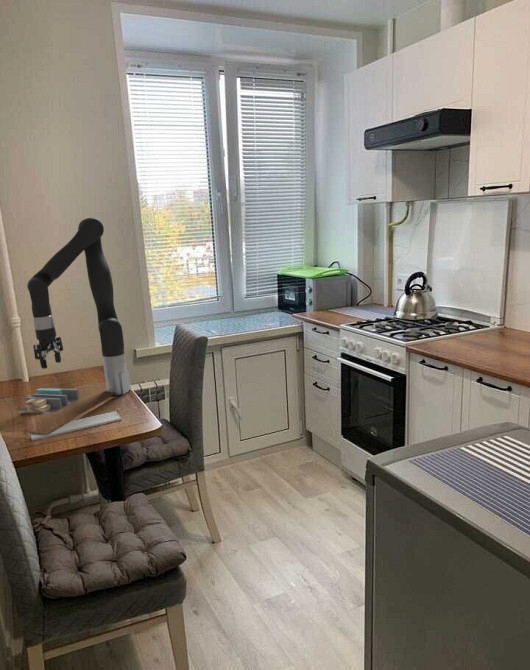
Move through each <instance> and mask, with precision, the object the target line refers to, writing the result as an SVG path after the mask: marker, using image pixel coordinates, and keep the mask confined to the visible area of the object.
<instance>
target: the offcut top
mask: <svg viewBox="0 0 530 670" xmlns="http://www.w3.org/2000/svg"><path fill="white" fill-rule="evenodd" d="M46 404H47V401H46V399H30V400H28V401H26V400H25V401H24V407H25V408H27V407H37V408H41V407H42V406H44V405H46Z"/></svg>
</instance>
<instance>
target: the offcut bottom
mask: <svg viewBox="0 0 530 670" xmlns="http://www.w3.org/2000/svg"><path fill="white" fill-rule="evenodd" d="M26 408H27V412H41V413H44V412H46V411H48V410H50V409H51V406H50V404H46V405H44V406H42V407H41V408H37V407H26Z"/></svg>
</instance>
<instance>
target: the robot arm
mask: <svg viewBox="0 0 530 670" xmlns="http://www.w3.org/2000/svg"><path fill="white" fill-rule="evenodd" d="M104 231H105V229H104V224H103V223H102V221H101V220H99V219H98V218H95V217H88V218H84V219H82V220H81V221H80V222H79V223H78V228H77V232H75V235H74V236H73V237H72V238H71V239H70V240H69V241H68V242H67V243H66V244H65V245H64V246H63V247H62V248H60V249H59V250H58V251H57V252H56V253H55V254H54V255H52V257H51V258H50V259H49V260H48V261H47V262H46V263H45V264H44V266H43V267H42V268H41V269H40V270H39V271H38V272H36V273H35V274H33V276H32V277H31V278H30V279H29V280H28V282H27V284H26V286H27V290H28V292H29V297H30V301H31V310H32V311H31V312H32V319H33V327H34V333H35V337H36V340H37V341H38V344H33V353H34V354H33V355H34V360H39V363H40V367H41V368H42V369H47V368H48V363H47V359H46V358H47V355H49V352H53V353H54V354H53V355H54V361H55V363H57V364H59V363H61V362H62V358H61V353H62V351H64V346H63V341H62V338H61V336H57V332H56V326H55V321H54V317H53V313H52V306H51V304H50V293H49V287H50V286H51V285H52V284H53V282H54V281H56V280H57V279H58V278H60V277H61V276H62V275H63V273H65V271H66V270H68V268H69V267H70V266H71V265H72V263H73V262H74V261H75V260H76V259H77V258H78V257H79V256H80V255H81V254H82V253H83V252H84V256H85V264H86V272H87V278H88V281H89V282H88V283H89V287H90V291H91V293H92V297H93V300H94V304H95V306H96V312H97V323H98V328H97V329H98V332H99V337H100V345H101V354H102V355H101V356H102V363H103V369H104V379H105V385H106V391H107V392H108V393H113V394H112V396H120V395H125V394H126V393H128V392H130V391H131V390H132V388H131V387H132V386H131V381H130V372H129V369H127V363H126V356H125V355H126V354H125V343H124V333H123V328H122V325H121V323H120V322H119V319H118V317H117V316H118V315H117V312H116V309H115V304H114V285H113V278H112V274H111V270H110V267H109V264H108V260H107V259H106V257H105V254H104V251H103V246H102V236H103V235H104ZM129 390H130V391H129Z"/></svg>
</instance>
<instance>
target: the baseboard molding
mask: <svg viewBox="0 0 530 670" xmlns="http://www.w3.org/2000/svg"><path fill="white" fill-rule="evenodd" d="M119 420H121V421H122V416H121V414H120V413H119V411H118V409H116V408H114V411H110V412H106V413H102V414H97V415H92V416H87V417H84V418H79V419H75V420H70V421H66V422H64V423H63V424H61V425H60V426H58V427H56V428H54V429H53V430H51V431H49V432H48V433H43V432H29V434H30V439H31V442H33V441H34V442H35V441H37V440H38V441H39V440H41V439H46V437H47V438H50V437H54V436H55V437H56V436H58V435H59V436H60V435H63V434H68V433H72V432H76V430H77V431H80V430H81V431H82V430H85V428H86V429H90V428H93V427H94V426H95V427H97V426H98V425H99V426H102V425H106V424H107V423H108V424H112V423H116V422H120V421H119ZM115 421H116V422H115ZM111 422H112V423H111ZM99 426H98V427H99ZM89 427H90V428H89Z"/></svg>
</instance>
